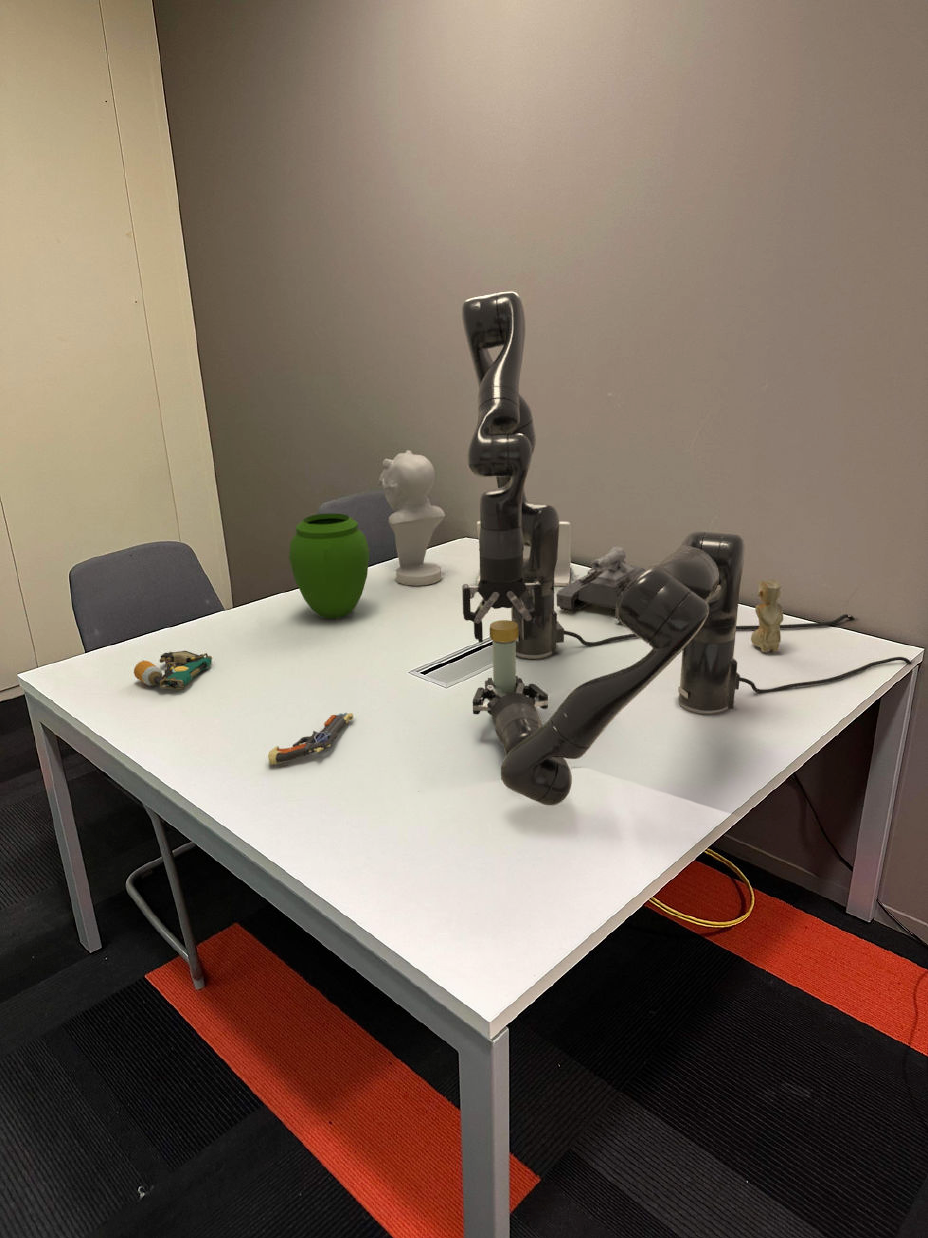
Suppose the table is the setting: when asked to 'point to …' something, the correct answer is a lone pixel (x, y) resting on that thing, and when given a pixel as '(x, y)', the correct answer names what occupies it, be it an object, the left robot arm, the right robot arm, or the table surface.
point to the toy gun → (312, 740)
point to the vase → (329, 563)
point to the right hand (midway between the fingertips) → (502, 681)
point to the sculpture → (768, 617)
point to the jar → (504, 666)
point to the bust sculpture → (412, 515)
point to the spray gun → (172, 669)
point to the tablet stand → (562, 560)
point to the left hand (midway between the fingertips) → (502, 639)
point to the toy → (599, 583)
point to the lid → (503, 631)
